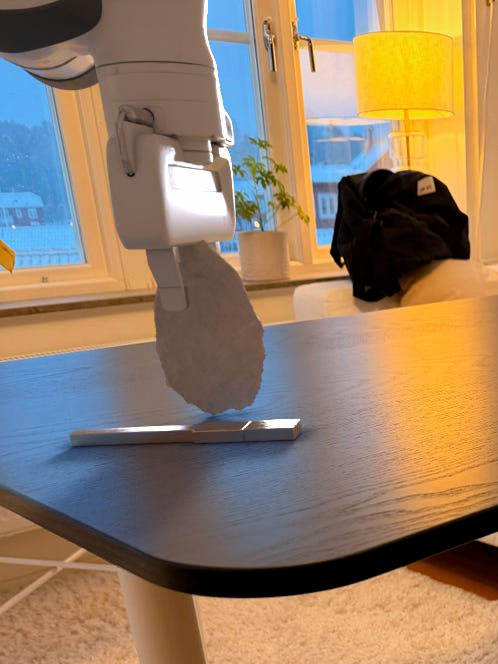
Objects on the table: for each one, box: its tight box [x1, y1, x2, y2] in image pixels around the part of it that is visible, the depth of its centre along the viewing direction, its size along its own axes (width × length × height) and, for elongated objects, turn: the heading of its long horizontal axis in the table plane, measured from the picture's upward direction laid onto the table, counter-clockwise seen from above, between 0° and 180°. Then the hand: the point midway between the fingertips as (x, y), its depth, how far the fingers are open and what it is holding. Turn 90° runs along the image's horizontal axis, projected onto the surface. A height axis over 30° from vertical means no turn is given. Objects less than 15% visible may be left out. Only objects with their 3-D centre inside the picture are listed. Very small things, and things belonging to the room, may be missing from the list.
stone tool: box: [153, 240, 267, 417], centre depth 75 cm, size 9×3×15 cm, turn 105°
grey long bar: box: [69, 418, 302, 447], centre depth 70 cm, size 18×3×1 cm, turn 90°
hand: (194, 304), depth 75 cm, fingers open, 8 cm apart
